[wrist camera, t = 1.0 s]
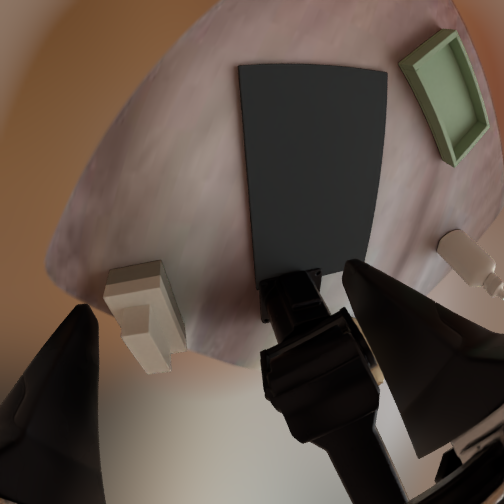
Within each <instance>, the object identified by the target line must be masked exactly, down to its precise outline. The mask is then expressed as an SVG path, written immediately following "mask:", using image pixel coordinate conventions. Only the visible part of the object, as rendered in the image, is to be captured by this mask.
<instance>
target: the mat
mask: <svg viewBox="0 0 504 504" xmlns="http://www.w3.org/2000/svg"><path fill="white" fill-rule="evenodd" d="M238 74H239V86H240V98H241V110H242V122H243V134H244V146H245V158H246V170H247V182H248V195H249V207H250V219H251V231H252V243H253V256H254V268H255V280H256V289H257V290H259V283H260V281H262V280H264V279H269V278H274V277H279V276H281V275H285V274H290V273H294V272H299V271H303V270H304V271H306V270H311V269H315V268H321V270H322V276H323V275H327V274H332V273H336V272H340V271H344V266H345V262H346V261H347V260H350V259H359V260H361V261H363V262H364V261H365V257H366V252H367V247H368V243H369V238H370V233H371V228H372V223H373V217H374V211H375V206H376V200H377V193H378V187H379V180H380V172H381V164H382V156H383V146H384V136H385V123H386V108H387V80H388V73H387V72H381V71H375V70H368V69H361V68H353V67H343V66H332V65H316V64H256V65H240V66H238ZM317 273H319V271H317V272H316V273H315V274H317ZM266 284H267V283H263V284H262V285H266Z"/></svg>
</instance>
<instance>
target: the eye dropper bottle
mask: <svg viewBox="0 0 504 504" xmlns="http://www.w3.org/2000/svg"><path fill="white" fill-rule="evenodd" d="M437 253H438V254H439V255H440V256H441V257H442V258H443V259H444V260H445V261H446V262H447V263H448V264H449V265H450V266H451V267H452V268H453V269H454V270H455V271H456V273H457V274H458V275H459V276H460V277H461V278H462V279H463V280H464V281H465V282H466V283H467V284H468V285H469V286H471V287H480V286H483V287H484V289H485V290H486V291H487V292H488V293H489V295H490V296H491V297H495V296H498V297H500V298H501V299H502V300H504V291H503V285H504V283H503V281H502V280H501V279H500V278H499V277H498V276H497V275H496V274H495V273H494V270H495V267H496V264H495V261H494V260H493V259H492V257H490V255H489V254H488V253H486V252H485V250H483V249H482V248H481V247H480V246H479V245H478V244H477V243H476V242H475V241H474V240H473V239H472V238H471V237H469V236H468V235H467V234H466V233H465V232H464V231H462V230H454V231H451V232H450V233H448V234H446V235H445V236H444V237H443V238H442V239H441V240H440V242H439V245H438V249H437Z"/></svg>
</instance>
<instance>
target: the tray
mask: <svg viewBox="0 0 504 504" xmlns="http://www.w3.org/2000/svg"><path fill="white" fill-rule="evenodd" d="M398 64H399V66H400V68H401V70H402V71H403V73H404V75H405V77H406V79H407V80H408V82H409V84H410V86H411V88H412V90H413V92H414V94H415V96H416V98H417V100H418V102H419V104H420V106H421V108H422V110H423V113H424V115H425V117H426V119H427V122H428V124H429V126H430V129H431V131H432V134H433V136H434V138H435V141H436V144H437V146H438V149H439V152H440V154H441V157H442V160H443V161H444V162H446V163H447V164H449V165H451V166H452V167H454V168H455V167H456V166H457V165H458V164H459V163H460V161H461V160H462V159H463V158H464V157H465V156H466V155H467V154H468V152H469V151H470V150H471V149H472V148H473V147H474V145H475V144H476V143H477V142H478V141H479V140H480V138H481V137H482V136H483V135H484V134H485V132H486V131H487V130H488V129H489V127H490V125H489V121H488V117H487V113H486V109H485V105H484V102H483V98H482V95H481V92H480V89H479V85H478V82H477V79H476V77H475V74H474V71H473V68H472V66H471V63H470V60H469V58H468V55H467V53H466V51H465V48H464V46H463V44H462V41H461V39H460V37H459V35H458V33H457V31H456V30H451V29H441V30H440V31H439V32H437V33H436V34H435V35H433V36H432V37H431V38H429V39H428V40H427V41H426V42H424V43H423V44H422V45H420V46H419V47H418V48H417V49H415V50H414V51H413V52H412V53H410V54H409V55H408V56H407V57H405V58H404V59H403V60H402V61H400V62H399V63H398Z"/></svg>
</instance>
